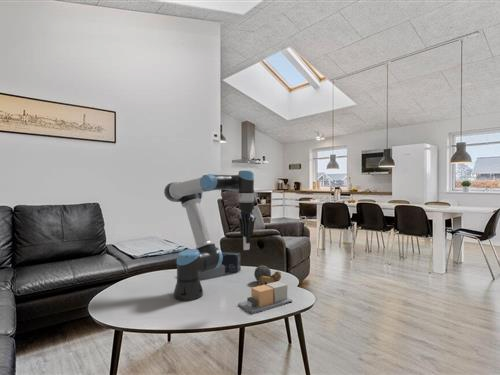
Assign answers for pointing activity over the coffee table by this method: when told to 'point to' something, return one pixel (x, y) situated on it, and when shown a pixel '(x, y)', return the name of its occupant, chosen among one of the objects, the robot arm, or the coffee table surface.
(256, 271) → the decorative ball
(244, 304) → the rail board
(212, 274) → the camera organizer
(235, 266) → the small box
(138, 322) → the coffee table surface
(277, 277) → the lion figurine
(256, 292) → the block
